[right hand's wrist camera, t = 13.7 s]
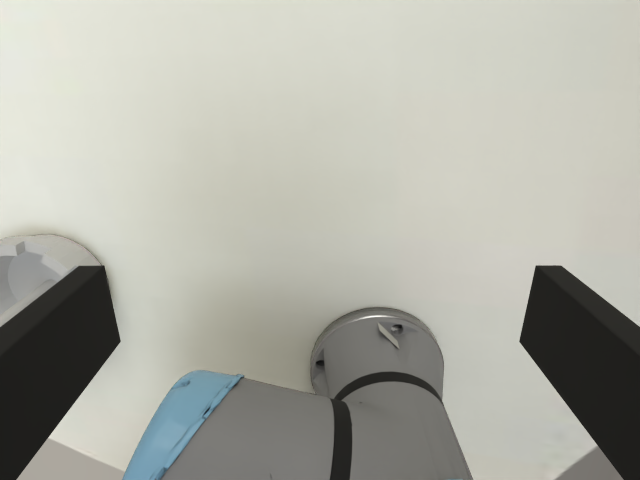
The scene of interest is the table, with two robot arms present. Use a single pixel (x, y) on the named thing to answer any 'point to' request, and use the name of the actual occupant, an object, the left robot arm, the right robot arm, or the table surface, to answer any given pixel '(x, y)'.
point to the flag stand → (35, 268)
